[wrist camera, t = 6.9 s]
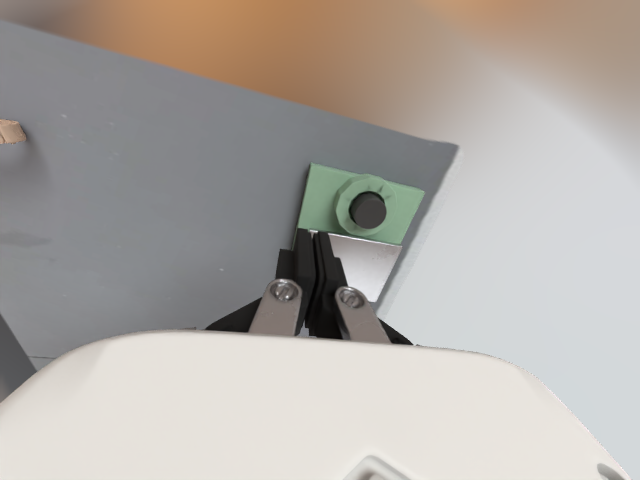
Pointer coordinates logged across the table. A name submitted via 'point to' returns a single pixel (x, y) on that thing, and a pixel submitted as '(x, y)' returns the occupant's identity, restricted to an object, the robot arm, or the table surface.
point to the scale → (338, 195)
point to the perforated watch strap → (11, 132)
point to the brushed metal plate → (364, 261)
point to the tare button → (368, 211)
